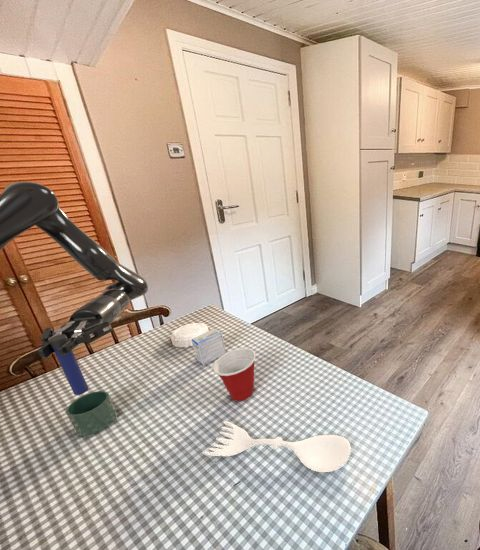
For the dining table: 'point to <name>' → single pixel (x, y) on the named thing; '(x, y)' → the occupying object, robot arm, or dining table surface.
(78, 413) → the tumbler
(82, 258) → the robot arm
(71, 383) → the marker
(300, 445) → the white spork
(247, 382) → the plastic cup
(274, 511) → the dining table surface
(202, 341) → the medicine box
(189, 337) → the mooncake
